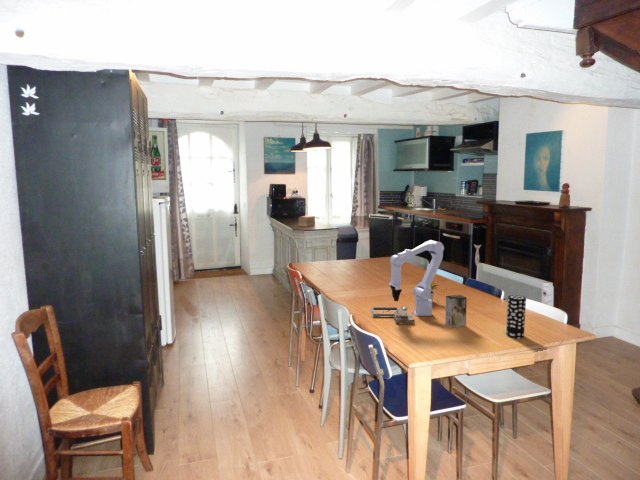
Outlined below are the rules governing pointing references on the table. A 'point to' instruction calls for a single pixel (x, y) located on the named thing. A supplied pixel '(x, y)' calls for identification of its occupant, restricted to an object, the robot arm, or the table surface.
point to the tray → (386, 311)
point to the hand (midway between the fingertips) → (395, 299)
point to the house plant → (432, 291)
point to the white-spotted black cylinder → (516, 316)
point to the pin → (404, 312)
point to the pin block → (404, 319)
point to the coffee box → (456, 310)
